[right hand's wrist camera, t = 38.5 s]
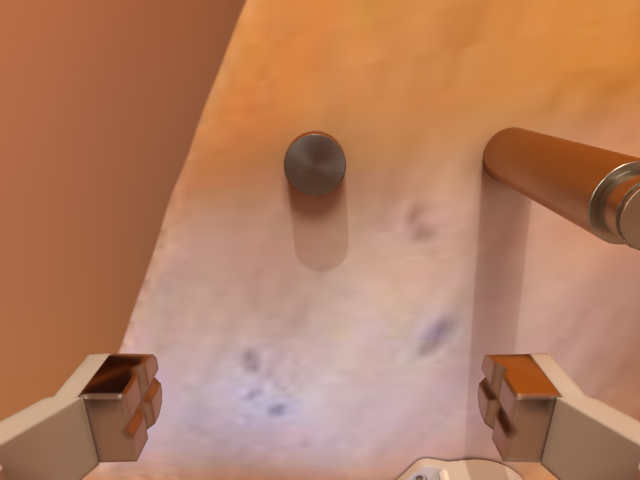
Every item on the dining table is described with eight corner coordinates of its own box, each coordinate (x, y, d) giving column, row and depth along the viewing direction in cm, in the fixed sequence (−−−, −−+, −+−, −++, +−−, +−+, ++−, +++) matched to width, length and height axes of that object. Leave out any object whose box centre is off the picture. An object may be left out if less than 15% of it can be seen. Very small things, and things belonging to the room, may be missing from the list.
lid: (282, 134, 36) (280, 137, 34) (341, 128, 36) (343, 131, 34) (289, 192, 38) (288, 198, 36) (346, 186, 38) (348, 192, 36)
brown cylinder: (481, 133, 36) (611, 178, 20) (536, 122, 36) (713, 158, 20) (485, 185, 38) (609, 266, 21) (537, 175, 37) (703, 249, 21)
